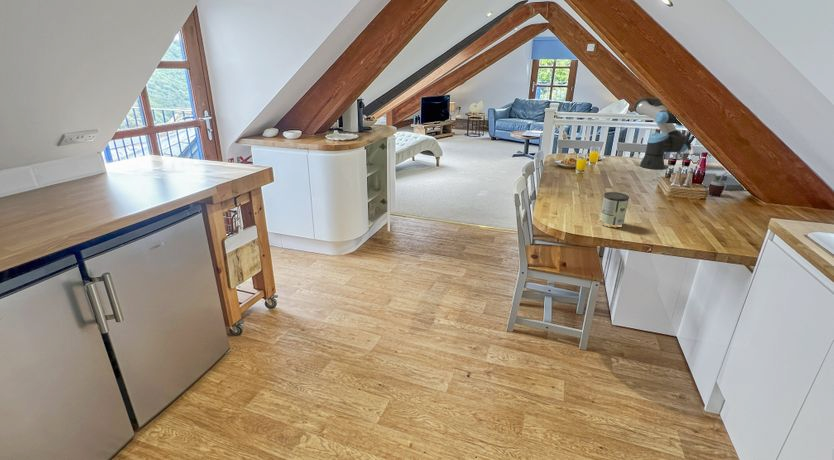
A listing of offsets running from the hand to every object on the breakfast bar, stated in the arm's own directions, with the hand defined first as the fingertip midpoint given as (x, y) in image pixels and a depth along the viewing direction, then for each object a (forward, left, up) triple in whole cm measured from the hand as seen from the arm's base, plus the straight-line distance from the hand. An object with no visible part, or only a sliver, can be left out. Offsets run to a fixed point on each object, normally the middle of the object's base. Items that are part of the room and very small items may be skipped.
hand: (702, 154), depth 262 cm
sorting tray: (+18, +6, -15) cm, 24 cm away
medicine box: (+20, -8, -16) cm, 27 cm away
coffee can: (+81, -93, -16) cm, 125 cm away
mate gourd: (+38, -14, -16) cm, 44 cm away
